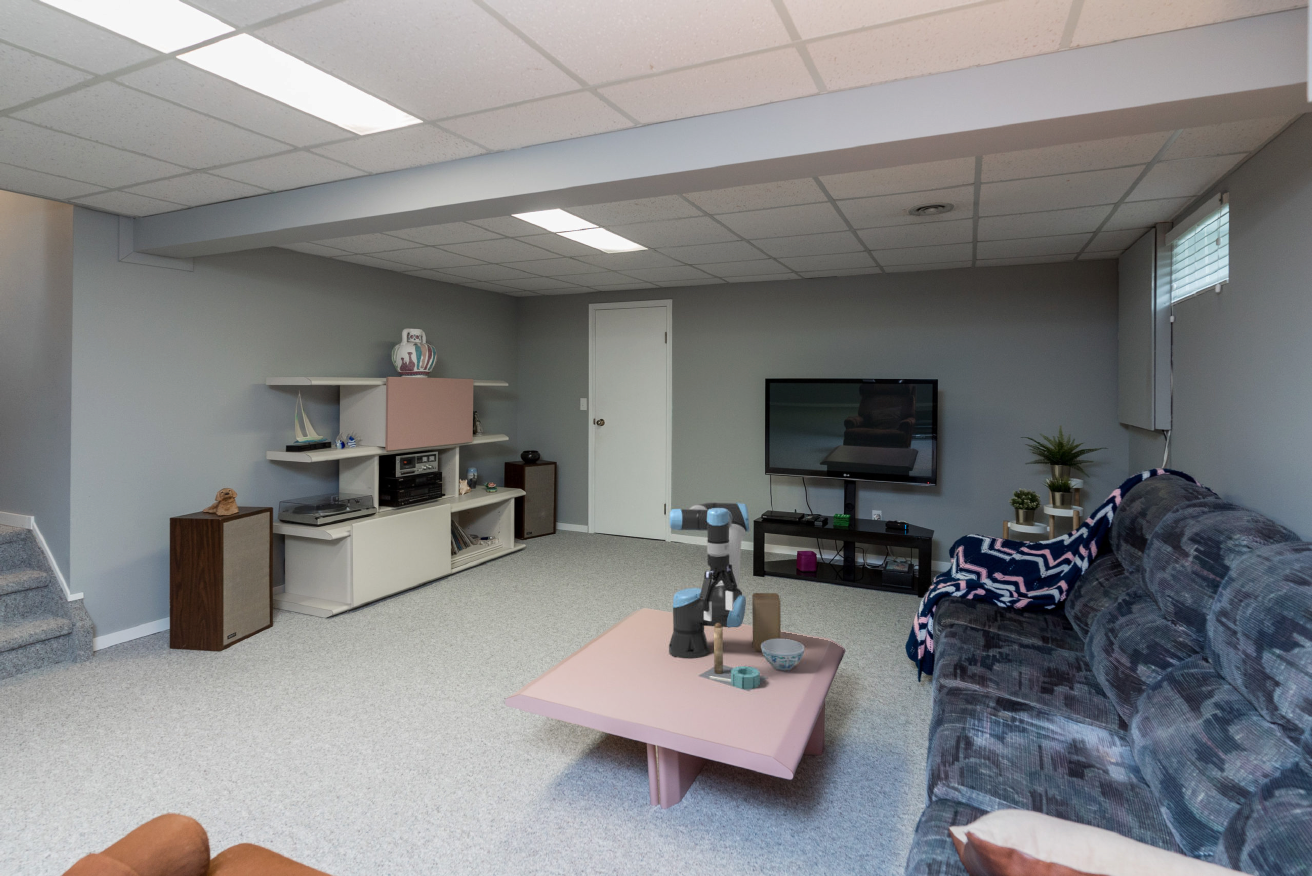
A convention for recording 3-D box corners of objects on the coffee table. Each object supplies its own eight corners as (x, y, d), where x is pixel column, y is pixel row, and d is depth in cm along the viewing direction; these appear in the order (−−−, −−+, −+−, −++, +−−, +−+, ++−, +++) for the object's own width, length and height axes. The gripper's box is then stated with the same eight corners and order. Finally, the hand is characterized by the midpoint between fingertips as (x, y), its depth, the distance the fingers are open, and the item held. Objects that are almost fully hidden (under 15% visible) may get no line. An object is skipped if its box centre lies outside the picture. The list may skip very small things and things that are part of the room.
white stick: (709, 678, 232) (709, 676, 232) (710, 677, 232) (710, 675, 232) (732, 681, 228) (732, 680, 228) (732, 681, 229) (732, 679, 229)
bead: (726, 684, 227) (726, 672, 226) (741, 675, 234) (740, 663, 233) (750, 691, 221) (749, 679, 221) (764, 682, 228) (764, 670, 228)
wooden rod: (712, 672, 236) (712, 623, 235) (717, 669, 239) (717, 620, 237) (719, 674, 234) (719, 625, 233) (724, 672, 237) (724, 622, 236)
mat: (698, 676, 234) (698, 675, 234) (719, 664, 244) (719, 663, 244) (748, 692, 221) (748, 690, 221) (768, 678, 231) (768, 677, 231)
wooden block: (778, 643, 264) (778, 592, 263) (780, 653, 254) (780, 600, 253) (752, 642, 265) (752, 591, 264) (753, 652, 255) (753, 599, 254)
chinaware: (802, 678, 232) (802, 655, 231) (758, 673, 236) (758, 651, 236) (806, 661, 246) (806, 640, 245) (764, 657, 250) (764, 636, 250)
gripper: (707, 562, 222) (707, 627, 223) (746, 548, 241) (747, 607, 243) (688, 559, 226) (688, 622, 228) (728, 545, 246) (729, 603, 247)
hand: (718, 614), depth 235 cm, fingers open, 13 cm apart
